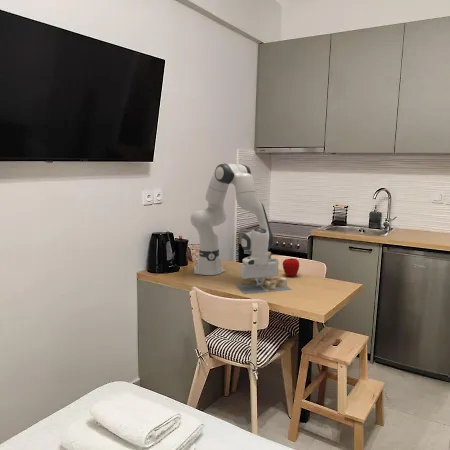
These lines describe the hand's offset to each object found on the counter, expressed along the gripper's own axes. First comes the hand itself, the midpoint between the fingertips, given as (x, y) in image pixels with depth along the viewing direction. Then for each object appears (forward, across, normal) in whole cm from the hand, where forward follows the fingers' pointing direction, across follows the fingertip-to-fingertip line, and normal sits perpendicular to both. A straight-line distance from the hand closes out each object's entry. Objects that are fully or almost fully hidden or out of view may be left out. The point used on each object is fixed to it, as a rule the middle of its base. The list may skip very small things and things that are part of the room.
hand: (259, 285), depth 220 cm
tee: (+1, -8, 0) cm, 9 cm away
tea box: (+2, -8, -19) cm, 21 cm away
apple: (+2, -27, -20) cm, 33 cm away
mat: (+2, -2, 0) cm, 3 cm away
